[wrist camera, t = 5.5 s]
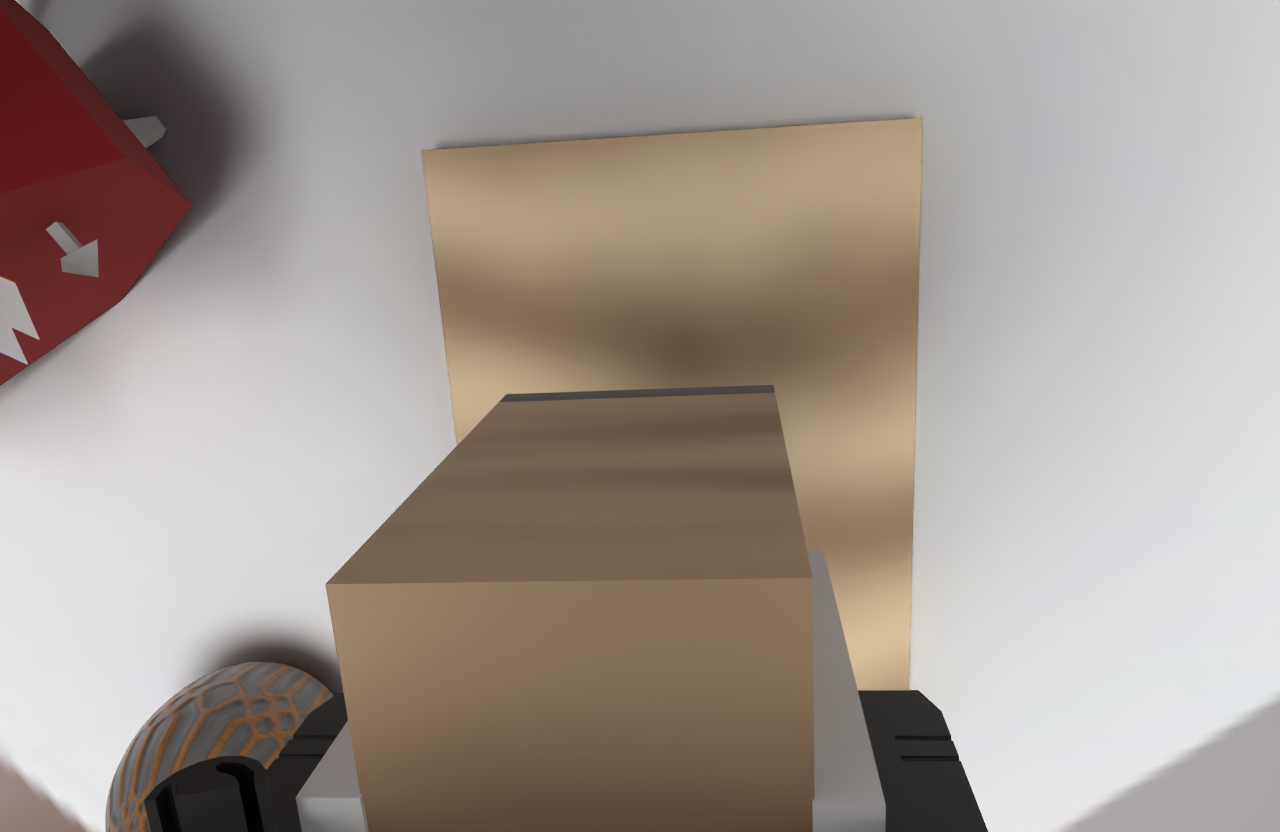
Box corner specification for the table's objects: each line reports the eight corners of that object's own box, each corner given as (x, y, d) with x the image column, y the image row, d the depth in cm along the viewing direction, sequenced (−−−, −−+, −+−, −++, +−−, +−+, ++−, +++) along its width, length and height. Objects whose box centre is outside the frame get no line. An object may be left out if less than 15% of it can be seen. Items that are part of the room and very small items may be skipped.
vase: (415, 753, 33) (308, 956, 25) (268, 819, 35) (120, 1030, 26) (310, 601, 32) (160, 760, 23) (162, 676, 33) (-29, 850, 25)
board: (434, 150, 27) (421, 150, 26) (914, 119, 26) (922, 117, 24) (510, 799, 33) (502, 822, 32) (899, 805, 32) (905, 830, 31)
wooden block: (506, 394, 17) (326, 584, 9) (773, 384, 17) (813, 577, 9) (543, 759, 19) (420, 1155, 12) (781, 761, 19) (819, 1179, 11)
